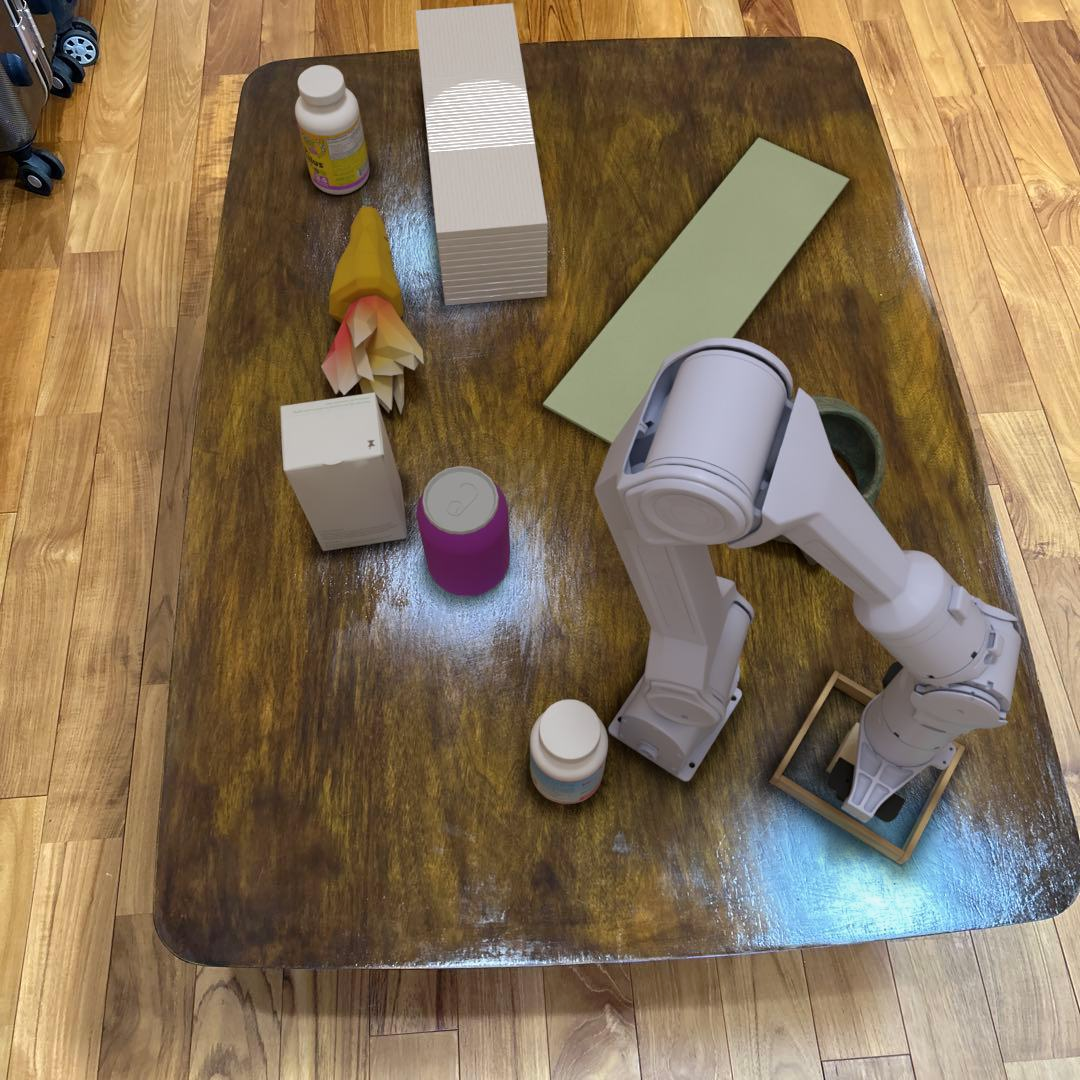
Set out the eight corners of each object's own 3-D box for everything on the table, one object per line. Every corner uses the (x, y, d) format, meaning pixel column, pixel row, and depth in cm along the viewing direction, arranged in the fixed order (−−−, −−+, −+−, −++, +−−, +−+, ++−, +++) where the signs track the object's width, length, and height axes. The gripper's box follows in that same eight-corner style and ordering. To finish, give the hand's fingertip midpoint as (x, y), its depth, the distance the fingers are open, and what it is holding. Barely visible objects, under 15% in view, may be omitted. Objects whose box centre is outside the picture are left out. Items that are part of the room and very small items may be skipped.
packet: (880, 804, 89) (891, 795, 86) (825, 771, 90) (834, 761, 87) (901, 765, 90) (912, 755, 87) (847, 732, 91) (856, 721, 89)
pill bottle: (596, 812, 88) (603, 776, 78) (523, 797, 89) (521, 760, 79) (609, 741, 91) (617, 698, 81) (538, 727, 92) (538, 683, 81)
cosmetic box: (402, 482, 102) (380, 387, 89) (409, 544, 99) (387, 455, 86) (313, 494, 102) (278, 401, 88) (318, 556, 99) (282, 469, 85)
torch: (385, 261, 120) (395, 433, 105) (315, 240, 116) (316, 414, 102) (412, 204, 114) (427, 377, 100) (340, 180, 110) (345, 356, 96)
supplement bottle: (303, 165, 121) (278, 68, 110) (358, 147, 122) (339, 49, 111) (323, 205, 118) (300, 110, 107) (379, 186, 120) (362, 91, 108)
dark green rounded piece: (781, 598, 97) (806, 548, 88) (687, 474, 103) (701, 416, 94) (911, 523, 100) (947, 467, 92) (813, 407, 106) (838, 345, 97)
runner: (641, 462, 103) (642, 459, 103) (542, 406, 106) (542, 403, 106) (848, 182, 120) (849, 178, 120) (757, 140, 123) (758, 137, 123)
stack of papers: (546, 296, 113) (547, 222, 103) (445, 305, 112) (436, 232, 102) (514, 84, 127) (512, 2, 118) (424, 92, 127) (415, 10, 117)
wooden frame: (900, 865, 86) (908, 860, 85) (768, 782, 89) (773, 776, 88) (957, 753, 90) (965, 747, 89) (829, 678, 94) (835, 670, 92)
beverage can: (481, 615, 96) (474, 556, 86) (410, 575, 98) (394, 512, 87) (526, 549, 99) (525, 484, 88) (457, 511, 101) (447, 443, 90)
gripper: (930, 828, 73) (874, 865, 85) (1015, 660, 78) (951, 718, 90) (836, 770, 74) (795, 815, 86) (925, 610, 80) (875, 673, 92)
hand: (869, 762), depth 88 cm, fingers open, 7 cm apart
